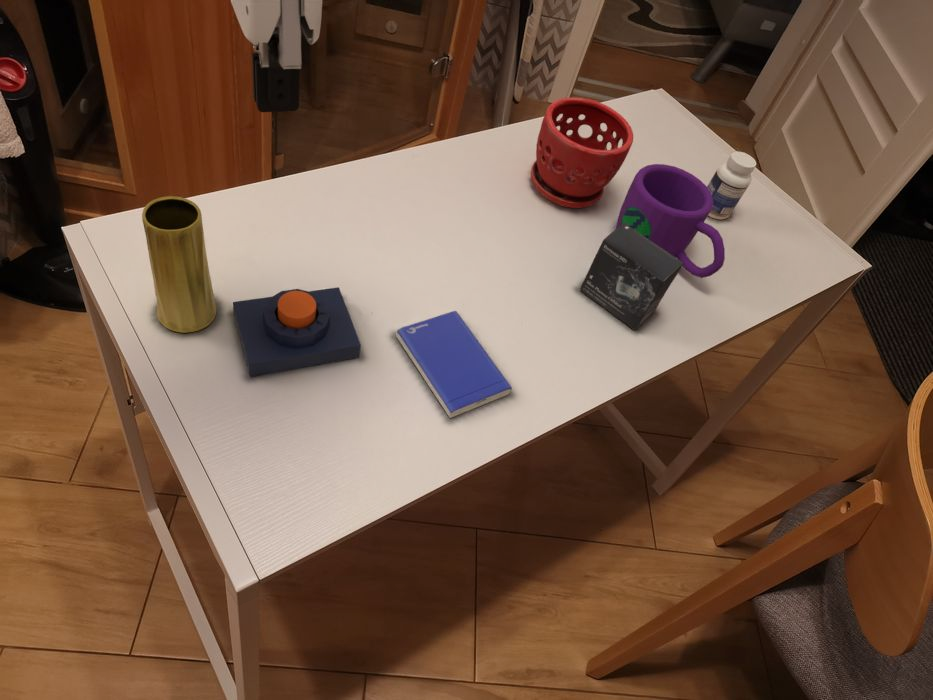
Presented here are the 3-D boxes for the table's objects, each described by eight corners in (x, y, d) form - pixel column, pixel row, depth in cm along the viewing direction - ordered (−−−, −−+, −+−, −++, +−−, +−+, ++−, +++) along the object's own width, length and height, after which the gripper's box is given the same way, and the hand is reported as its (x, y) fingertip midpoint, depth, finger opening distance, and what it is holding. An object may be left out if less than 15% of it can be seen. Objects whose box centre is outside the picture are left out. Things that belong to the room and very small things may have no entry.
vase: (225, 323, 76) (215, 225, 65) (169, 340, 73) (149, 241, 62) (204, 286, 79) (191, 187, 68) (149, 302, 76) (127, 200, 65)
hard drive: (397, 328, 79) (451, 410, 73) (456, 309, 82) (513, 386, 77) (395, 337, 80) (448, 419, 74) (454, 317, 84) (509, 394, 78)
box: (577, 291, 91) (602, 237, 84) (599, 272, 95) (624, 220, 87) (633, 332, 89) (664, 281, 81) (654, 312, 92) (685, 261, 85)
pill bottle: (699, 194, 112) (728, 143, 105) (730, 206, 112) (762, 157, 104) (695, 212, 109) (725, 161, 101) (727, 225, 108) (759, 174, 101)
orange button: (282, 331, 72) (282, 320, 71) (274, 304, 75) (274, 293, 73) (319, 325, 74) (320, 315, 73) (310, 299, 76) (311, 288, 75)
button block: (249, 377, 72) (248, 353, 69) (233, 314, 77) (231, 290, 74) (359, 357, 77) (362, 334, 74) (337, 299, 82) (339, 276, 79)
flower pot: (507, 172, 105) (528, 102, 96) (571, 157, 111) (596, 90, 102) (557, 226, 99) (584, 157, 90) (622, 207, 106) (653, 141, 96)
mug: (594, 227, 101) (619, 172, 93) (645, 209, 106) (673, 155, 99) (676, 307, 93) (711, 253, 86) (727, 283, 99) (763, 230, 91)
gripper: (187, -221, 43) (210, 56, 57) (231, -129, 35) (246, 167, 49) (306, -204, 46) (300, 55, 60) (371, -116, 38) (348, 160, 52)
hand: (276, 105), depth 54 cm, fingers closed
